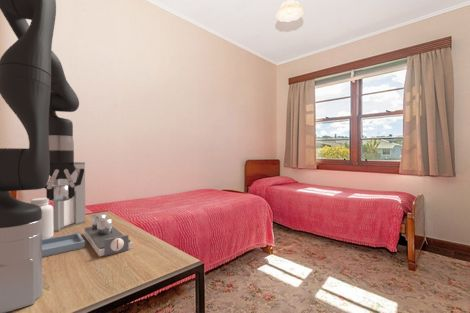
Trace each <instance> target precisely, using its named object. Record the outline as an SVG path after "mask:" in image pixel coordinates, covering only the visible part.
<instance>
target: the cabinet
mask: <svg viewBox="0 0 470 313" xmlns="http://www.w3.org/2000/svg"><path fill="white" fill-rule="evenodd" d="M74 166H75V167H76V168H83V169H84V174H83V178H82V181H81V184H80V185H78V186H76V187H75V188H74V193H75V195H74V196H73V197H72V198H70V199H69V200H66V201H53V226H54V233H57V232H60V231H61V230H64V229H68V228H71V227H75V226H77V225H81V224H84V223H86V163H85V162H84V161H83V162H80V161H79V162H75V161H74ZM77 176H78V174H77V173H76V170H75V171H74V172H73V173H72V175H71V178H72V180H73V182H76V180H77ZM63 184H68V185H69V183H68V181H67V179H57V180H55V181H54V183H53V185H63ZM53 185H52V186H53Z"/></svg>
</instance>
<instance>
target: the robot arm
mask: <svg viewBox="0 0 470 313" xmlns="http://www.w3.org/2000/svg"><path fill="white" fill-rule="evenodd" d="M0 11H1V13H2V14H3V16H4V18H5V20H6V21H7V23H8V25H9V26H10V28H11V30H12V31H13V33H14V35H15V37H16V38H17V40H16V41H15V42H14V43H13V44H12V45H10V47H9V48H7V49H6V50H5V51H4V52H3V54H2V55H1V57H0V96H1V97H2V99H3V100H4V102H5V103H6V104H7V106H8V107H9V108H10V110H11V111H12V112H13V114H15V116H16V117H17V118H18V120H19V121H20V123H21V125H22V126H23V128H24V129H25V131H26V134H27V138H28V144H29V145H28V148H23V147H22V148H13V147H12V148H11V147H10V148H7V147H5V148H3V147H2V148H0V313H9V312H13V311H15V310H19V309H22V308H25V307H28V306H31V305H34V304H35V301H37V300H38V299H39V298H40V297H41V296H42V294H43V257H42V210H41V207H40V206H38V205H35V204H31V202H25V201H22V200H19V199H18V198H15V197H13V196H12V195H11V193H10V192H15V191H33V190H34V191H35V190H42V189H45V190H46V192H45V193H46V197H45V198H47V199H49V202H50V201H52V186H53V183H54V181H55V180H57V179H67V181H68V183H69V185H70V198H72V197H73V196H74V195H75V193H74V188H75V187H76V186H78V185H80V184H81V181H82V178H83V174H84V169H83V168H76V167H75V166H74V162H75V161H74V160H75V152H74V151H75V143H74V142H75V141H74V137H73V136H74V134H73V133H74V130H73V128H74V126H73V121H72V120H71V119H68V118H65V117H64V118H63V117H60V116H58V115H57V113H56V112H62V113H74V112H77V110H78V109H79V107H80V100H79V96H78V94H76V92H75V90H74V89H73V87H72V86H71V85H70V83H69V82H68V80H67V77H66V75H65V70H64V69H63V68H64V67H63V64H62V63H61V61H60V59H59V57H58V56H57V54H55V52H54V51H53V50H52V47H53V36H54V33H55V32H54V30H55V25H56V23H55V22H56V15H57V2H56V0H0ZM27 20H31V21H30V24H29V23H28V21H27ZM75 170H76V173H77V174H78V176H77V180H76V182H73V180H72V178H71V175H72V173H73V172H74V171H75Z"/></svg>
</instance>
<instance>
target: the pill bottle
mask: <svg viewBox="0 0 470 313" xmlns="http://www.w3.org/2000/svg"><path fill="white" fill-rule="evenodd" d="M49 203H50V201H49V199H47V197H37V198H32V199H30V204H35V205H38V206H40V207H41V210H42V239H47V238H52V237H54V233H55V232H54V206H53V205H51V204H49Z"/></svg>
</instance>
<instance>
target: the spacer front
mask: <svg viewBox="0 0 470 313" xmlns="http://www.w3.org/2000/svg"><path fill="white" fill-rule="evenodd" d="M51 189H52V200H51V202H54V201H66V200H69V199H70V185H68V184H63V185H52V188H51Z"/></svg>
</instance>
